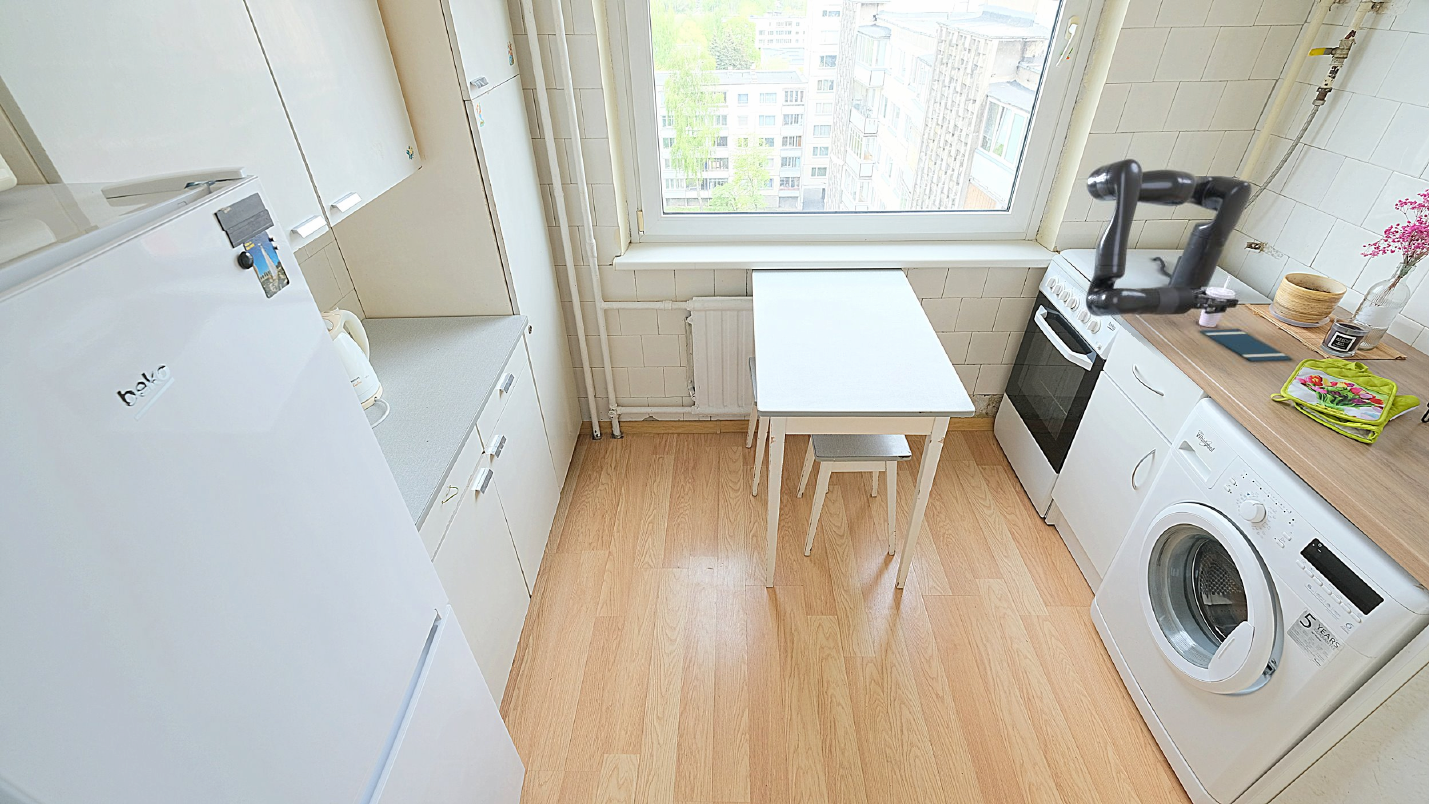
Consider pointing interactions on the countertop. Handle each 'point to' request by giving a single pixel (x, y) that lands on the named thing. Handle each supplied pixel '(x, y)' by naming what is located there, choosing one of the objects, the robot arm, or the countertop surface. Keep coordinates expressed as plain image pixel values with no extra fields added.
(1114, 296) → the robot arm
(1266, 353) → the tea towel
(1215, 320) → the smoothie
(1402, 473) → the countertop surface
